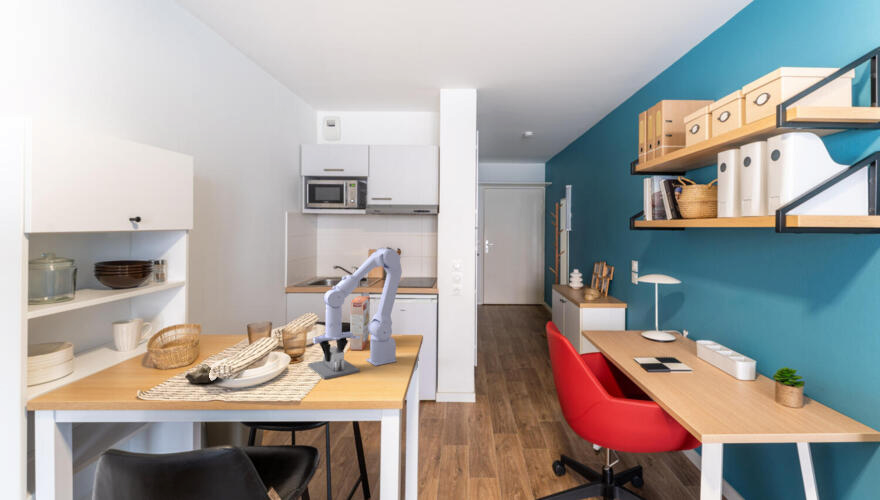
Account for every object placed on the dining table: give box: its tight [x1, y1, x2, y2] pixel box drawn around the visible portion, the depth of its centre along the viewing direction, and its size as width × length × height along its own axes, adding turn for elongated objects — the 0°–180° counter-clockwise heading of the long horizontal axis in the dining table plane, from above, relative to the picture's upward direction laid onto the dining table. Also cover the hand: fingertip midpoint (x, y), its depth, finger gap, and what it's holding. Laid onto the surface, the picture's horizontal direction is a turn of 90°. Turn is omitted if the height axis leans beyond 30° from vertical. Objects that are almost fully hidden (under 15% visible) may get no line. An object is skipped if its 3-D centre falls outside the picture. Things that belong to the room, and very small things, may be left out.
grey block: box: [325, 345, 345, 371], centre depth 149 cm, size 4×8×6 cm, turn 37°
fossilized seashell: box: [185, 363, 212, 384], centre depth 135 cm, size 8×7×10 cm
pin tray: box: [307, 352, 360, 381], centre depth 149 cm, size 13×16×4 cm
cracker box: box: [349, 295, 371, 351], centre depth 178 cm, size 14×6×21 cm, turn 179°
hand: (333, 359), depth 149 cm, fingers closed on grey block, 4 cm apart
